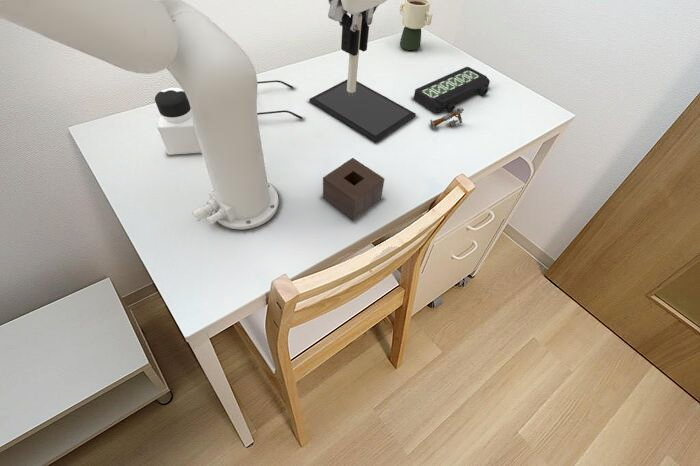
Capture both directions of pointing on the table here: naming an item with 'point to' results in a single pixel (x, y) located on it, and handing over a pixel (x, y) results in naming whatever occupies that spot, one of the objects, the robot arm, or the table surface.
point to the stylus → (353, 64)
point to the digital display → (451, 90)
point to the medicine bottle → (176, 122)
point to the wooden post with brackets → (447, 117)
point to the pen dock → (352, 188)
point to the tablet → (363, 110)
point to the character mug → (414, 22)
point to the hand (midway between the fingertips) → (353, 49)
